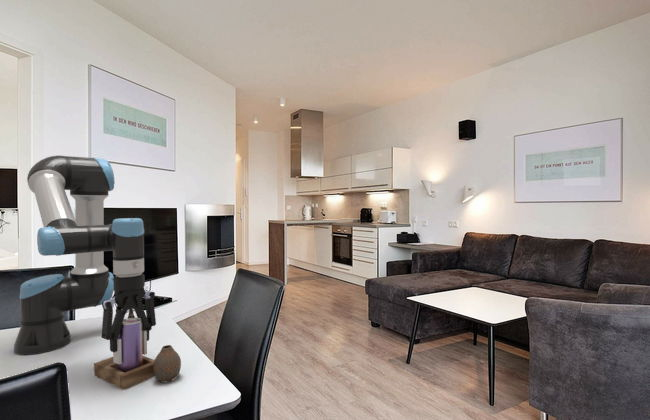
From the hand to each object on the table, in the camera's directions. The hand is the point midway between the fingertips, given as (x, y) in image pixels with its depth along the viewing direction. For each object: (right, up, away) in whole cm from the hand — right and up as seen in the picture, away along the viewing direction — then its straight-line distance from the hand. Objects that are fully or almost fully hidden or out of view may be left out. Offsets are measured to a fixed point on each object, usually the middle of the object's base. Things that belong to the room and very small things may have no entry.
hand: (130, 357), depth 100 cm
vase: (+11, -5, -1) cm, 12 cm away
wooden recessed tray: (-2, -5, +1) cm, 6 cm away
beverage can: (0, -5, 0) cm, 5 cm away
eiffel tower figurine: (-23, -6, +42) cm, 48 cm away
